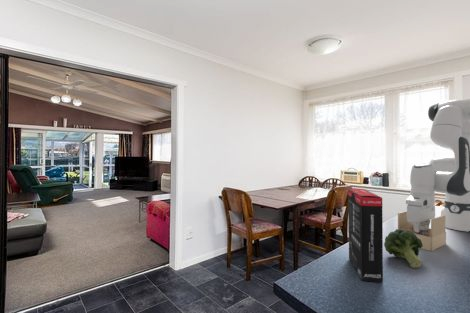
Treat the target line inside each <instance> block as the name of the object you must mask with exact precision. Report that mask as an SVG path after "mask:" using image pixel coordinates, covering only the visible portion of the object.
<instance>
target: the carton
mask: <svg viewBox="0 0 470 313" xmlns="http://www.w3.org/2000/svg"><path fill="white" fill-rule="evenodd" d="M445 223H446V215H443V216H441V215H440V216H437V217H435V218H433V219H431V221H430V226H431V227H429V237H428V236H424V235H419V234H415V233H414V226H413V223H411V222H408V219H407V210H405V211H401V212H398V213H397V229H402V230H405V231H411V232H413V233H414V234H415V235H416V236H417V238H419V239H420V240H421V242H422V244H423V245H422V248H421V249H422V250H426V251H429V252H430V251H431V252H433V251H435V250H437V249H439V248H441V247H443V246H445V245H446V244H447V232H446V227H445Z"/></svg>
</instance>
